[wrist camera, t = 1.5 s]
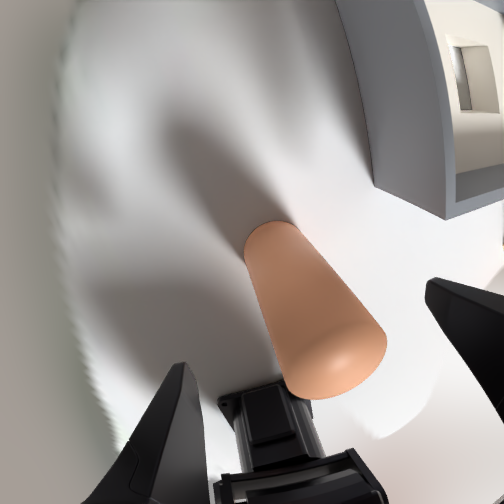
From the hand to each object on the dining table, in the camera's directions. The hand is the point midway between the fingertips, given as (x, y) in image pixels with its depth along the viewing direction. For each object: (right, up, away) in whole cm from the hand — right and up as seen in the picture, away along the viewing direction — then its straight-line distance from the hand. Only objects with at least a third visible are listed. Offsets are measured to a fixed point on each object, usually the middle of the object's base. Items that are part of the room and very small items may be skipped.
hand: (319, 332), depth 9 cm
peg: (-1, +3, +6) cm, 6 cm away
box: (+10, +13, +3) cm, 17 cm away
